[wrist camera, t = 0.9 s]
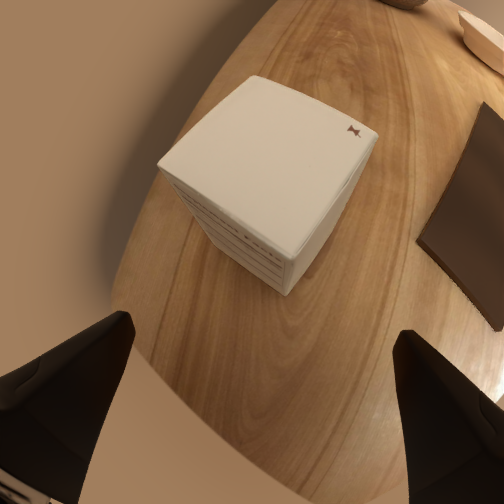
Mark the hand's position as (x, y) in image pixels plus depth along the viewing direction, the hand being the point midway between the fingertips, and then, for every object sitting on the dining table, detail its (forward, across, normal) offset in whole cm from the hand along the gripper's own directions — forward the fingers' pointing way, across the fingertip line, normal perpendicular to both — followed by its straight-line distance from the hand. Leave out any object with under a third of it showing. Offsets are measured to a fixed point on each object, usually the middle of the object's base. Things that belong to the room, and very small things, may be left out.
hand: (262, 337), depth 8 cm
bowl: (+48, -50, -33) cm, 77 cm away
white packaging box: (+15, 0, +3) cm, 15 cm away
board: (+20, -28, -3) cm, 35 cm away
